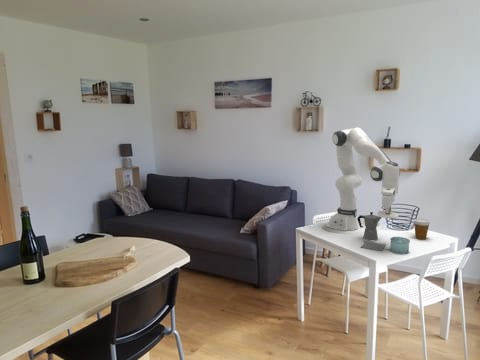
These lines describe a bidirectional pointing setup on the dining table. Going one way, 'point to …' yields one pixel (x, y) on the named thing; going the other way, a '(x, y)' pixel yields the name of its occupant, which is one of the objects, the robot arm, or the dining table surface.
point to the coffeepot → (370, 226)
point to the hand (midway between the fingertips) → (387, 211)
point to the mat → (373, 246)
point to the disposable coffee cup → (421, 228)
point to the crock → (400, 245)
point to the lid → (388, 214)
